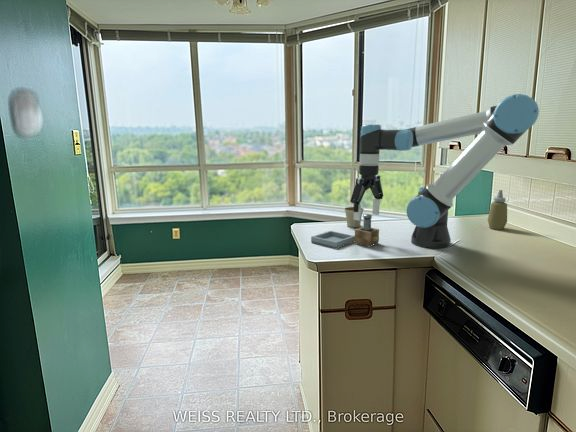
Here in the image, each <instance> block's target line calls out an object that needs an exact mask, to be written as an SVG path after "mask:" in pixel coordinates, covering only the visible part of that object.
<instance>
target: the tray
mask: <svg viewBox="0 0 576 432" xmlns="http://www.w3.org/2000/svg"><path fill="white" fill-rule="evenodd" d="M310 238H311V239H310V240H311V241H310V242H311V243H312V244H315V245H316V244H317V245H320V246H323V245H325V246H324V247H327V246H329V247H328V248H331V247H333V249H335V248H337V249H338V247H339V248H341V247H340V246H342V247H344V246H343V245H345V246H347V245H350V244H352V243H351V242H353V243H355V242H354V241H355V235H353V234H352V235H351V234H348V233H343V232H338V231H334V230H329V231H326V232H322V233H319V234H316V235H312V236H311V237H310ZM349 243H350V244H349ZM346 244H347V245H346Z"/></svg>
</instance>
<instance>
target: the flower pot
mask: <svg viewBox="0 0 576 432" xmlns="http://www.w3.org/2000/svg"><path fill="white" fill-rule="evenodd" d="M343 210H344V212H345V218H346V225H347V227H349V228H360V227H361V221H362V218H363V212H364V210H365V208H364V207H361V217H360V221H359V220H354V206H348V207H344V208H343ZM359 226H360V227H359Z"/></svg>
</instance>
